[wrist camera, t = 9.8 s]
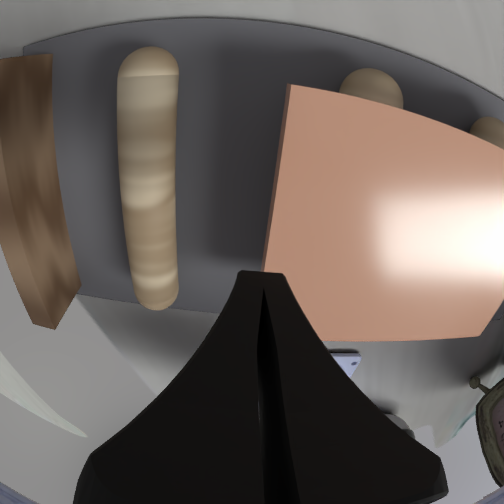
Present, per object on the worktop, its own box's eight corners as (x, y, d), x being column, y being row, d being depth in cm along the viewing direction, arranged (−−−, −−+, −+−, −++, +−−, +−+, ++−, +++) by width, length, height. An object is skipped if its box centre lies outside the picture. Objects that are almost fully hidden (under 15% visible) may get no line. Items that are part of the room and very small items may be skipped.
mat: (497, 317, 22) (499, 319, 22) (61, 287, 21) (59, 290, 20) (571, 151, 12) (574, 153, 12) (27, 46, 11) (23, 47, 10)
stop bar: (83, 281, 20) (55, 329, 16) (63, 278, 20) (33, 323, 16) (56, 53, 11) (-2, 59, 7) (32, 60, 11) (-26, 69, 7)
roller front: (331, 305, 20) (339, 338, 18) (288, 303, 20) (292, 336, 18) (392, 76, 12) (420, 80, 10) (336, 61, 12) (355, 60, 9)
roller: (184, 293, 20) (172, 323, 17) (145, 286, 20) (130, 314, 17) (189, 47, 12) (168, 42, 9) (136, 49, 12) (107, 48, 9)
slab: (470, 321, 17) (479, 336, 16) (253, 316, 17) (253, 337, 16) (542, 170, 11) (558, 180, 10) (287, 83, 10) (291, 84, 9)
